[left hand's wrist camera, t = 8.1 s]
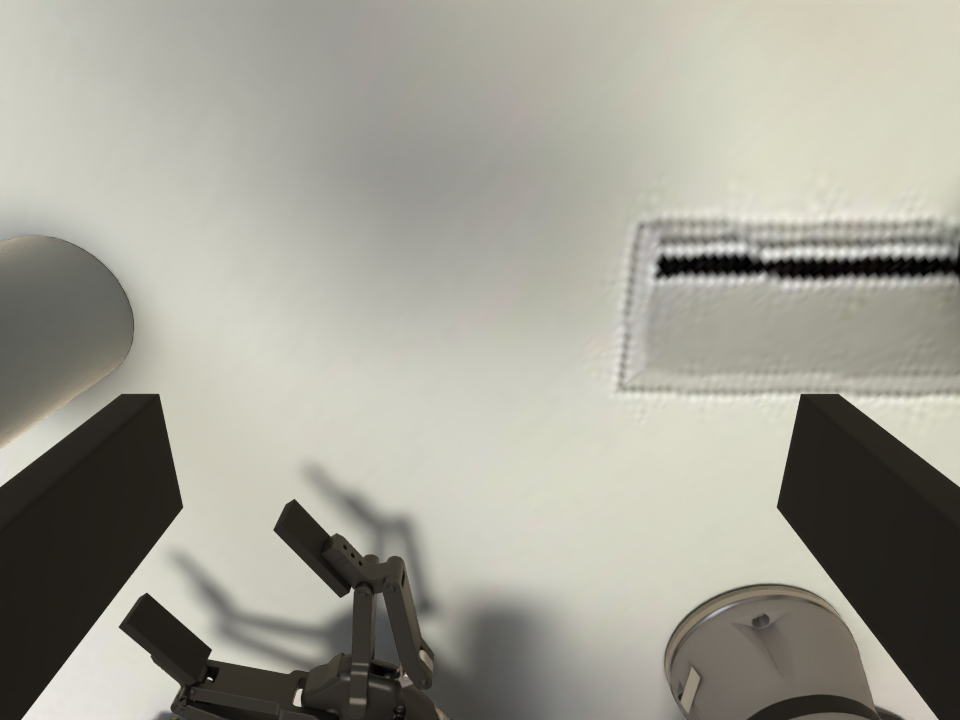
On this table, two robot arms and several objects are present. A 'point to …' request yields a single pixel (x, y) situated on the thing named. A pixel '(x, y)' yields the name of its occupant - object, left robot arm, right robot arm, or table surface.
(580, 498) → the table surface
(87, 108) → the table surface
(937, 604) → the left robot arm
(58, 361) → the jar
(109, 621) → the table surface
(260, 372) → the table surface
